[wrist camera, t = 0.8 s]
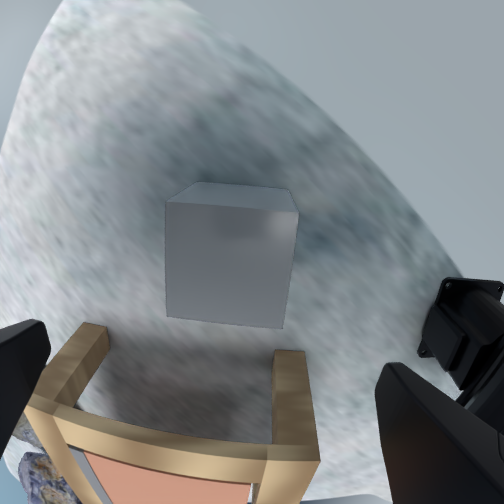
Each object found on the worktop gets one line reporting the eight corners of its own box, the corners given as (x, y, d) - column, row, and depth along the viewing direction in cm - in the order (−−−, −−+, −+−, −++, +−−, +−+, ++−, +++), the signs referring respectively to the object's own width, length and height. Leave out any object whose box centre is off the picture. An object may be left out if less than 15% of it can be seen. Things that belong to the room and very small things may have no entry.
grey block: (287, 189, 17) (299, 213, 12) (277, 273, 19) (282, 329, 13) (197, 181, 17) (165, 201, 12) (194, 265, 19) (166, 316, 13)
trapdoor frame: (304, 351, 21) (320, 461, 12) (273, 471, 26) (273, 547, 18) (83, 322, 21) (18, 401, 12) (118, 447, 26) (91, 514, 18)
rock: (95, 484, 31) (74, 538, 21) (32, 444, 29) (3, 494, 19) (120, 465, 28) (95, 533, 18) (42, 415, 26) (3, 478, 16)
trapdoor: (251, 472, 14) (250, 486, 13) (240, 527, 18) (239, 537, 17) (74, 436, 14) (68, 447, 13) (111, 502, 18) (108, 511, 17)
